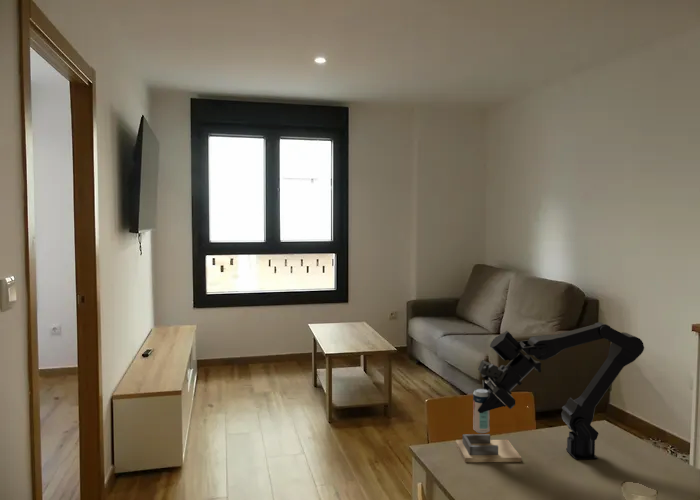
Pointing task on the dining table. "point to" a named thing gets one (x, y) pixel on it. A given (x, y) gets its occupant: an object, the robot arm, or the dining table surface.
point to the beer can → (480, 419)
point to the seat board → (486, 449)
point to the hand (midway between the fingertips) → (476, 408)
